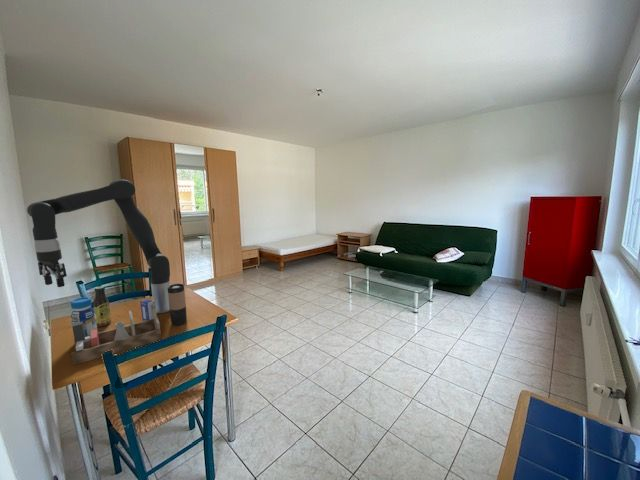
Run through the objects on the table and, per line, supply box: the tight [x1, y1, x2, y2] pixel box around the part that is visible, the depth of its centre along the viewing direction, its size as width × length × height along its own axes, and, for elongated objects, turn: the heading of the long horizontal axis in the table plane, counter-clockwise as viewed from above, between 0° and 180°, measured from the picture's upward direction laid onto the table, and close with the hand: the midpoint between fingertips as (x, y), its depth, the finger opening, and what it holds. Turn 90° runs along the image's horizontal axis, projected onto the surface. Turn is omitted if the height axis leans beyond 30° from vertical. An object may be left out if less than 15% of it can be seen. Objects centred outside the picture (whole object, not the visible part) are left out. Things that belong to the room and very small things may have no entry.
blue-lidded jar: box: [70, 296, 98, 336], centre depth 121 cm, size 8×8×20 cm
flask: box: [113, 321, 131, 341], centre depth 120 cm, size 7×7×10 cm
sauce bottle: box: [92, 285, 112, 327], centre depth 137 cm, size 6×6×20 cm
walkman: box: [139, 298, 158, 322], centre depth 140 cm, size 8×3×12 cm, turn 67°
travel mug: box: [167, 283, 188, 327], centre depth 139 cm, size 8×8×20 cm
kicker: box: [71, 321, 101, 352], centre depth 112 cm, size 7×14×14 cm, turn 39°
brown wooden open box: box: [70, 310, 163, 366], centre depth 119 cm, size 30×14×12 cm, turn 128°
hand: (55, 285), depth 117 cm, fingers open, 8 cm apart
